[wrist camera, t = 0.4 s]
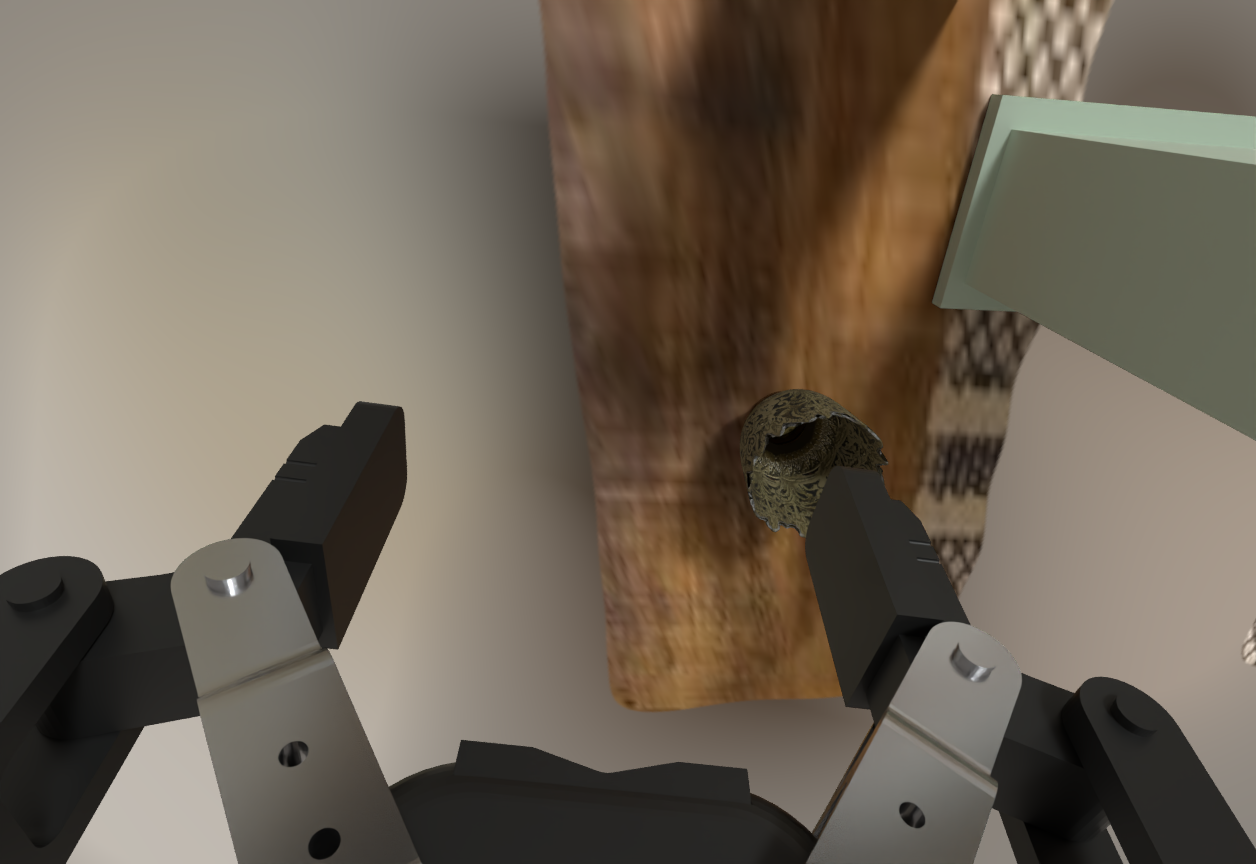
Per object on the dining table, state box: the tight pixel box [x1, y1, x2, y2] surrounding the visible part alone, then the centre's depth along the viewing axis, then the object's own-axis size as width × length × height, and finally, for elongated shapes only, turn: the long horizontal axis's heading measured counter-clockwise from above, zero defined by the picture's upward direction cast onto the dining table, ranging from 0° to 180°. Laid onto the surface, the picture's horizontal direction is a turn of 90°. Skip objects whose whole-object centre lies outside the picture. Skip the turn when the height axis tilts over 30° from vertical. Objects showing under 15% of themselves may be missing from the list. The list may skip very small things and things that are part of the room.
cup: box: [740, 389, 888, 538], centre depth 39 cm, size 8×7×8 cm
